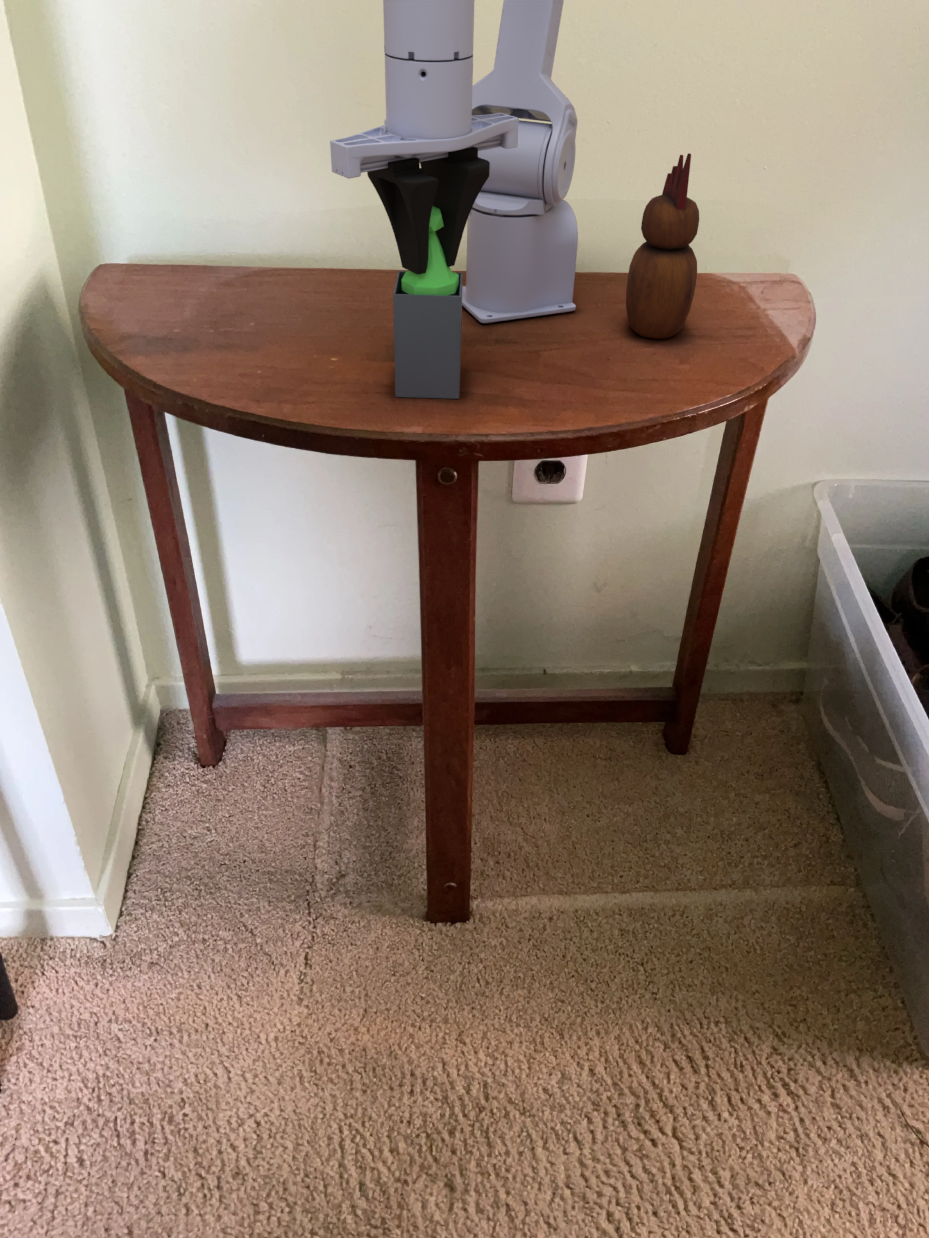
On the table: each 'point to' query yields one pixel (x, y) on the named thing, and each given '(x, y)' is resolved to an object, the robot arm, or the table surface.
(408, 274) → the game piece
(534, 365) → the table surface
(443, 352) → the bin
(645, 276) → the wooden figurine
